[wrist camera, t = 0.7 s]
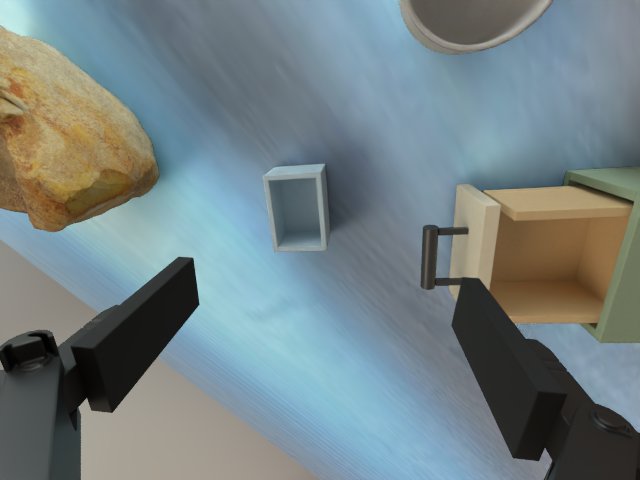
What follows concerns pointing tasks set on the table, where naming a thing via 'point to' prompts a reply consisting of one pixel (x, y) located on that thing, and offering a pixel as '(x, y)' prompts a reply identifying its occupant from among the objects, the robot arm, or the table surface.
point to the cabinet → (632, 263)
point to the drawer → (534, 249)
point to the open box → (298, 207)
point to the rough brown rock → (64, 139)
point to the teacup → (468, 22)
